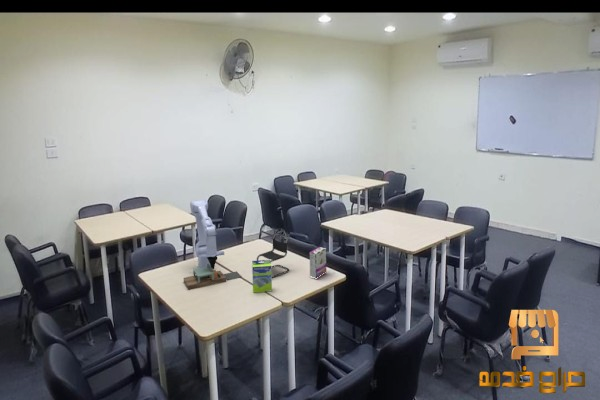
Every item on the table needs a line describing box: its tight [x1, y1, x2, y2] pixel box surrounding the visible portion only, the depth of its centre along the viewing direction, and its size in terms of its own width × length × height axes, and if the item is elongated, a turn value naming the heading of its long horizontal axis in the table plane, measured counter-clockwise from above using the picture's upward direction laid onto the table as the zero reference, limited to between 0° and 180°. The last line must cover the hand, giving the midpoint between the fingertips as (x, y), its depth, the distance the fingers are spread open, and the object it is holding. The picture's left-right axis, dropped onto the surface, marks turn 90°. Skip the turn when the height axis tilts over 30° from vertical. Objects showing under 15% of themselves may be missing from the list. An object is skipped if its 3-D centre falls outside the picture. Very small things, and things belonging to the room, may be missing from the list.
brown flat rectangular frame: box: [183, 270, 227, 291], centre depth 228 cm, size 12×22×2 cm, turn 118°
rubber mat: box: [223, 270, 242, 281], centre depth 236 cm, size 9×9×1 cm
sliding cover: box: [192, 264, 214, 283], centre depth 227 cm, size 12×9×6 cm
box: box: [251, 259, 273, 293], centre depth 215 cm, size 10×4×17 cm, turn 100°
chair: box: [256, 232, 291, 278], centre depth 239 cm, size 13×17×22 cm
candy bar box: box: [309, 246, 327, 278], centre depth 234 cm, size 11×5×16 cm, turn 143°
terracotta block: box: [208, 269, 218, 280], centre depth 230 cm, size 4×4×6 cm
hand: (212, 268), depth 229 cm, fingers closed
